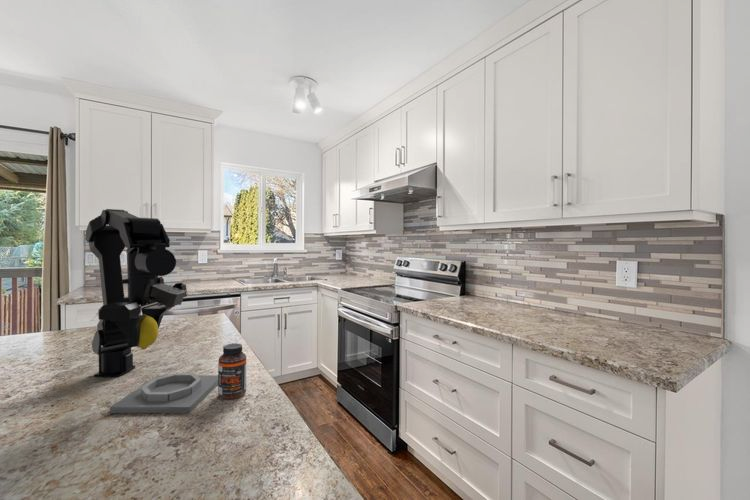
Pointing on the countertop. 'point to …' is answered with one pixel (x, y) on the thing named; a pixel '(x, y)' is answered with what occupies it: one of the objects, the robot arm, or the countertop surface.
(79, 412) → the countertop surface
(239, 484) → the countertop surface
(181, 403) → the ring plate
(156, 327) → the lemon
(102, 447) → the countertop surface
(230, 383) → the supplement bottle
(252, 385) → the countertop surface
